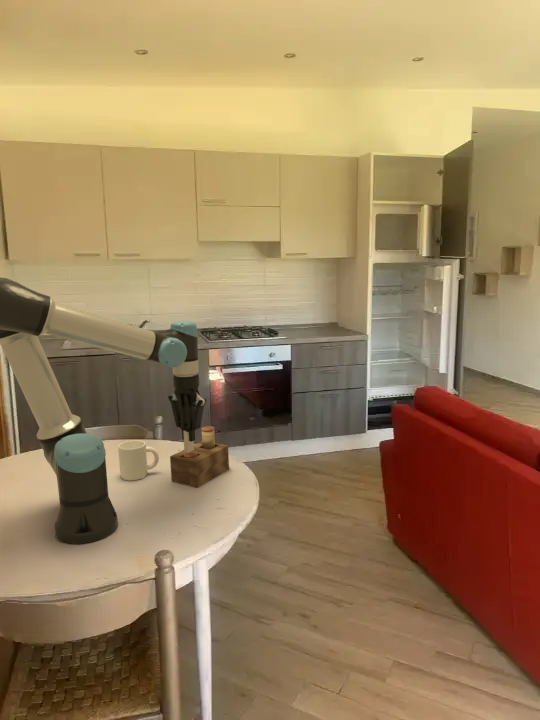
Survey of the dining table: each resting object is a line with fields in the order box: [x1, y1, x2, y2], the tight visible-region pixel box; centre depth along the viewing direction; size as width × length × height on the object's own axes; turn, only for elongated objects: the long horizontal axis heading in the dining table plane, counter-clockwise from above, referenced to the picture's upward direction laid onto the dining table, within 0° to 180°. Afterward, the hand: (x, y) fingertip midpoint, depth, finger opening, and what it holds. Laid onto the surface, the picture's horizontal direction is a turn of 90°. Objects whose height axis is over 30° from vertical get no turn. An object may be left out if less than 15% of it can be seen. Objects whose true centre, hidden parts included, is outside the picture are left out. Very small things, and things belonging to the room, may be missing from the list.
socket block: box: [169, 440, 230, 489], centre depth 171 cm, size 16×10×8 cm, turn 149°
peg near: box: [184, 452, 197, 459], centre depth 167 cm, size 4×4×8 cm
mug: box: [117, 439, 160, 482], centre depth 172 cm, size 12×8×10 cm
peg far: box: [200, 425, 216, 450], centre depth 174 cm, size 4×4×8 cm
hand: (189, 450), depth 166 cm, fingers closed
